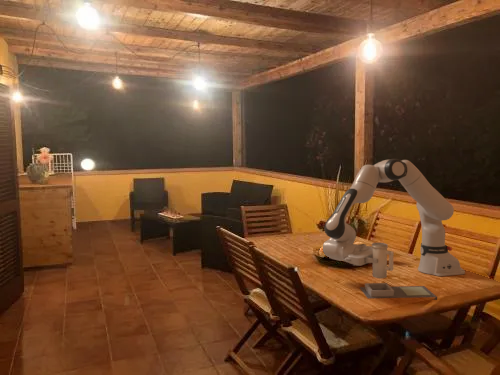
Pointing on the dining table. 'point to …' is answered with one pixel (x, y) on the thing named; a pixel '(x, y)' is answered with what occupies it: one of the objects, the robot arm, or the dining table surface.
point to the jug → (381, 260)
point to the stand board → (395, 291)
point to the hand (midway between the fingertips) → (381, 259)
